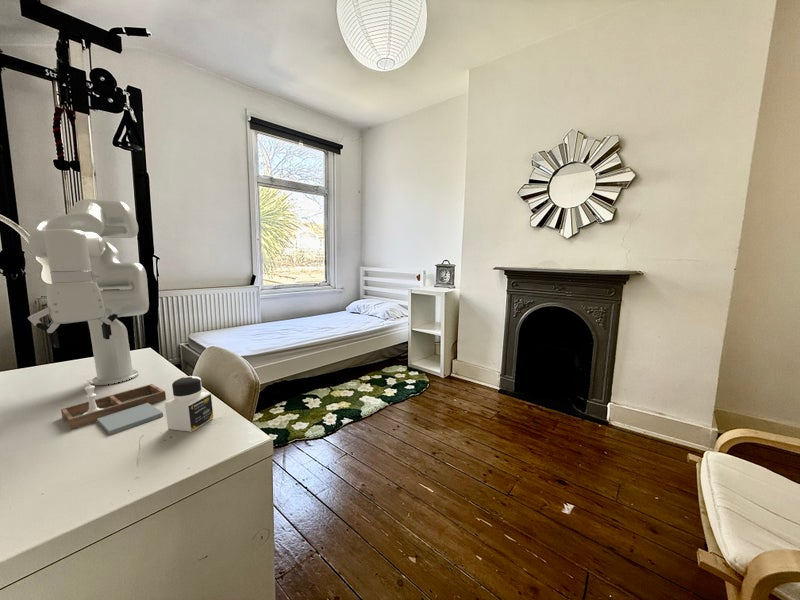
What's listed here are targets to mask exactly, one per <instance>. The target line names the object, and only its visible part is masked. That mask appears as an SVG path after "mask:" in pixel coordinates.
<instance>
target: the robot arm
mask: <svg viewBox="0 0 800 600" xmlns="http://www.w3.org/2000/svg"><path fill="white" fill-rule="evenodd" d="M138 233H139V224H138V221H137V219H136V217H135V214H134V213H133V211H132V209H131V208H130V206H129V205H128V204H126V202H123V201H120V200H114V199H113V200H111V199H94V198H92V199H91V198H87V199H86V198H85V199H80V200H78V201H77V202H75V203H74V205H73V206H72V207H71V209H70V211H69V213H67V214H64V215H63V214H62V215H60V216H55V217H51V218H48V219H44V220H41V221H39V222H38V223H37V224H36V225H35V226H34V227H33V229H32V230H31V232H30V234H29V236H28V247H29V250H30V252H31V253H32V254H33V255H34V256H36V257H38V258H40V259H45V260H47V262H48V266H49V267H48V268H49V274H50V280H51V284H47V286H46V287H47V288H46V304H47V307H46V308H44V309H42V310H40V311H37V312H36V313H34V314H31V315H29V316H28V317H27V319H28V320H29V321H30V323H32V324H33V326H35V327H36V328H37V329H40V330H42V331H44V332H46V333H47V338H48V344H49V345H50V346H53V348H54V349H59V348H60V347H61V346H60V340H59V335H58V332H57V331H56V330H57V329H58V328H59V326H60V325H61V324H62V325H64V324H72V323H73V324H74V323H80V322H87V324H88V329H89V333H90V340H91V345H92V352H93V358H94V365H95V374H96V376H95V377H94V378H92V379H90V382H91V381H93V383H91V385H93V384H94V385H93V386H108V384H109V385H115V384H119V383H118V382H120V383H123V382H126V380H127V381H129V379H130V380H132V379H134V378H136V377H138V376H139V374H138V373H139V370H137V369H133V364H132V356H131V350H130V343H129V335H128V330H127V327H126V326H125V324H124V323H123V322H122V321H120V320H119V319H118V318H121V317H132V316H133V317H134V316H142V315H144V314H146V313H147V312H148V311H149V308H150V307H149V306H150V301H149V299H150V298H149V287H148V277H147V271H146V269H145V267H144V266H143V264H141V263H140V262H135V261H134V262H133V261H129V262H127V261H125V262H124V261H123V262H121V261H120V260H121V258H120V257H121V256H120V252H119V250H118V249H117V248H116V247H115V246H114V245H112V244H111V243H110V242H108V241H106V240H104V239H133V238H135V237H137V235H138ZM47 315H48V319H49V321H50V323H49V324H48V325H46V324H45V323H42V321H40V319H41V318H43V317H45V316H47ZM137 375H138V376H137ZM131 378H132V379H131ZM122 381H123V382H122ZM114 383H115V384H114Z"/></svg>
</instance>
